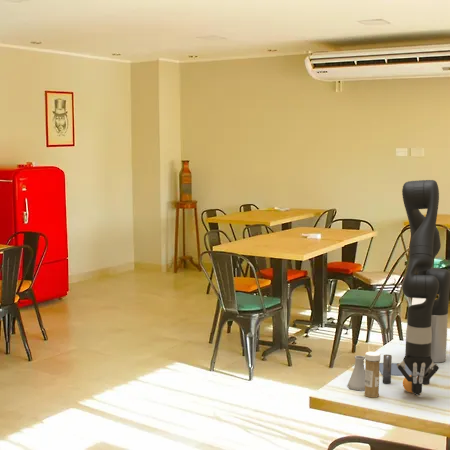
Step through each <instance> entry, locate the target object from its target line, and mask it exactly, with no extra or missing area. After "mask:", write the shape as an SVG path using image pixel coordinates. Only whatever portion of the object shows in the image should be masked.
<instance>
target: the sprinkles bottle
mask: <svg viewBox="0 0 450 450" xmlns="http://www.w3.org/2000/svg"><path fill="white" fill-rule="evenodd" d="M364 357H365V359H364V361H365V365H364V369H365V390H364V396H365V397H367V398H377V397H379V396H380V393H379V392H380V371H379V363H380V361H381V353H380V352H378V351H366V352H365V354H364Z"/></svg>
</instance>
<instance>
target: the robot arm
mask: <svg viewBox="0 0 450 450" xmlns="http://www.w3.org/2000/svg"><path fill="white" fill-rule="evenodd" d="M439 190H440V189H439V185H438V182H437V181H436V180H434V179H425V180H424V179H423V180H421V179H420V180H410V181H409V180H408V181H406V182H405V183H404V184H403V186H402V189H401V193H402V194H401V195H402V201H403V205H404V209H405V213H406V216H407V218H408V224H409V231H410V238H411V239H410V243H409V256H408V257H409V261H408V267H407V270H406V273H405V276H404V279H403V281H402V287H401V288H402V292H403V294H404V295H405V297H408V298H411V299H412V298H426V300H425V301H424V302H423V303H421V304H416V305H412V304H411V305H409V307H408V308H407V318H406V319H407V321H406V322H407V323H406V331H405V354H404V357H403V358H402V359H403V360H402V361H401V362H398V364H397V367H398V369H399V370H400V371H401V373H402V374H403V375H404V376H403V377H404V378H406V379H407V380H408V381H409V382H412V392H413V393H412V394H414V396H420V395H421V394H422V393H423V384H422V383H423V382H428V381H429V380H430V381H431V379H432V377H434V375H436V373H437V372H438V370H439V369H440V367H439V365H437V363H443V362H446V361H447V359H446V358H447V345H448V344H447V341H448V319H449V299H450V271H449V270H448V269H446V268H437V267H436V268H435V267H433V266H434V265H433V264H434V259H435V258H436V256H437V255H438V254H439V253H440V250H441V246H442V245H441V237H440V232H439V229H438V228H437V225H436V224H437V218H438V213H439V202H440V191H439ZM420 210H426V214H425V215H424V214H423V213H422V212H421V211H420ZM437 295H438V297H437ZM399 363H400V364H399ZM405 364H406V365H407V367H408V368H409V370H410V371H411V376H409V375H408V374H407V372H406V371H405V368H406V367H405ZM429 366H430V367H429ZM428 367H429V368H430V369H429V370H428V371H427V372H426V374H425V375H424V372H425V371H426V370H427V368H428Z"/></svg>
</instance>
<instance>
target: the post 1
mask: <svg viewBox="0 0 450 450" xmlns="http://www.w3.org/2000/svg"><path fill="white" fill-rule="evenodd" d="M392 358H393V356H392V355H391V354H383V358H382V359H383V362H382V363H383V375H382V383H383V384H385V385H391V382H392V375H391V363H393V362H392Z"/></svg>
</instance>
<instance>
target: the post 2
mask: <svg viewBox="0 0 450 450" xmlns="http://www.w3.org/2000/svg"><path fill="white" fill-rule="evenodd" d="M429 367H430V366H429ZM429 367H428V368H427V370H426V371H425V372H424V375H425V374H426V372H427V371H428V370H429V369H430V368H429ZM430 382H431V379H430V380H429V381H428V382H423V383H422V385H425V386H428V385H430Z"/></svg>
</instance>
